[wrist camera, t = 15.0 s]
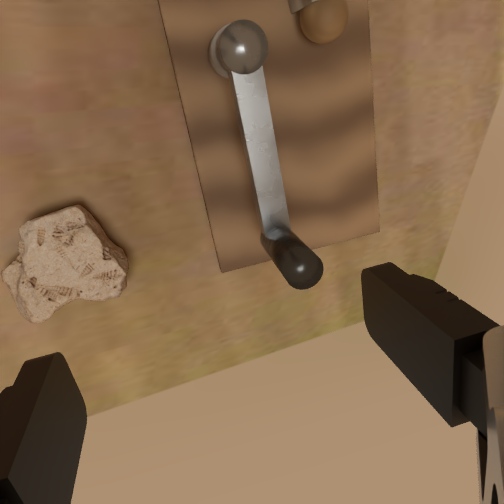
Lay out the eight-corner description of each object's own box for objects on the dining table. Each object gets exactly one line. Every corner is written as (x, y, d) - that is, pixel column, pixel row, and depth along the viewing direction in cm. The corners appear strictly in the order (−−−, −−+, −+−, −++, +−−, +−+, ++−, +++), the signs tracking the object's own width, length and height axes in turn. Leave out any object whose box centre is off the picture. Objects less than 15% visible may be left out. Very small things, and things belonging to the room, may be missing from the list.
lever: (210, 29, 31) (229, 8, 23) (255, 20, 31) (289, -4, 23) (259, 254, 38) (285, 295, 31) (294, 244, 39) (329, 282, 31)
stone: (137, 275, 41) (135, 297, 37) (23, 307, 40) (7, 334, 35) (107, 193, 38) (100, 206, 33) (-19, 225, 36) (-43, 243, 32)
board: (153, -18, 33) (153, -41, 27) (358, -50, 35) (398, -77, 29) (220, 268, 43) (230, 294, 37) (374, 228, 45) (405, 247, 40)
